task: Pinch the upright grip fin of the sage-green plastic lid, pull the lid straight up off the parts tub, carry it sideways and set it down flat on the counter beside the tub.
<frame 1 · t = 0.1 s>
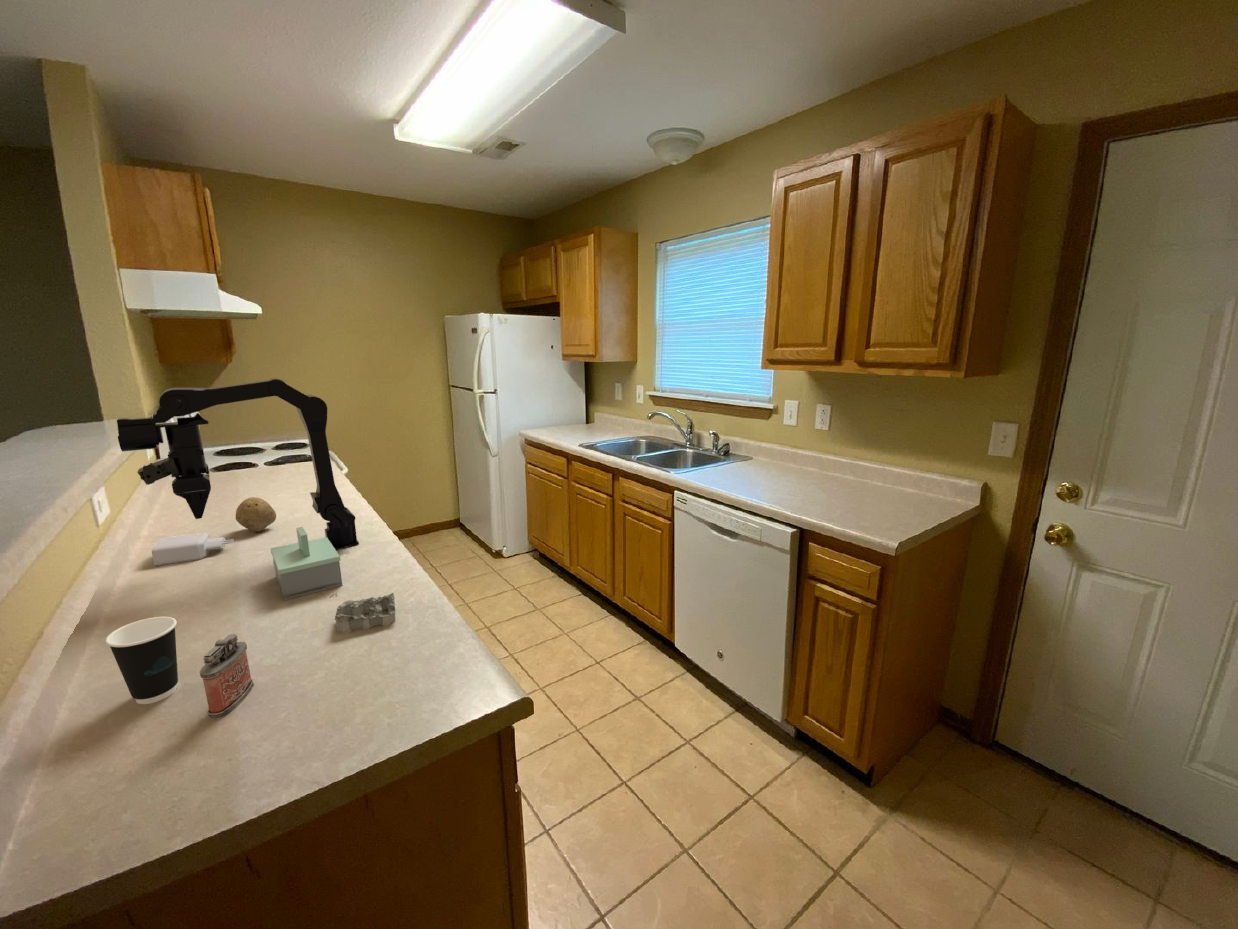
hand: (198, 513, 117), 15 cm above the worktop, fingers open, 9 cm apart
tub: (308, 581, 117), on the worktop
dixie cup: (156, 694, 80), on the worktop
brown potato: (257, 531, 147), on the worktop
egg carton: (367, 622, 101), on the worktop
lighter: (232, 701, 79), on the worktop
lid: (305, 560, 116), point 5 cm above the worktop, touching tub
charger: (198, 555, 131), on the worktop
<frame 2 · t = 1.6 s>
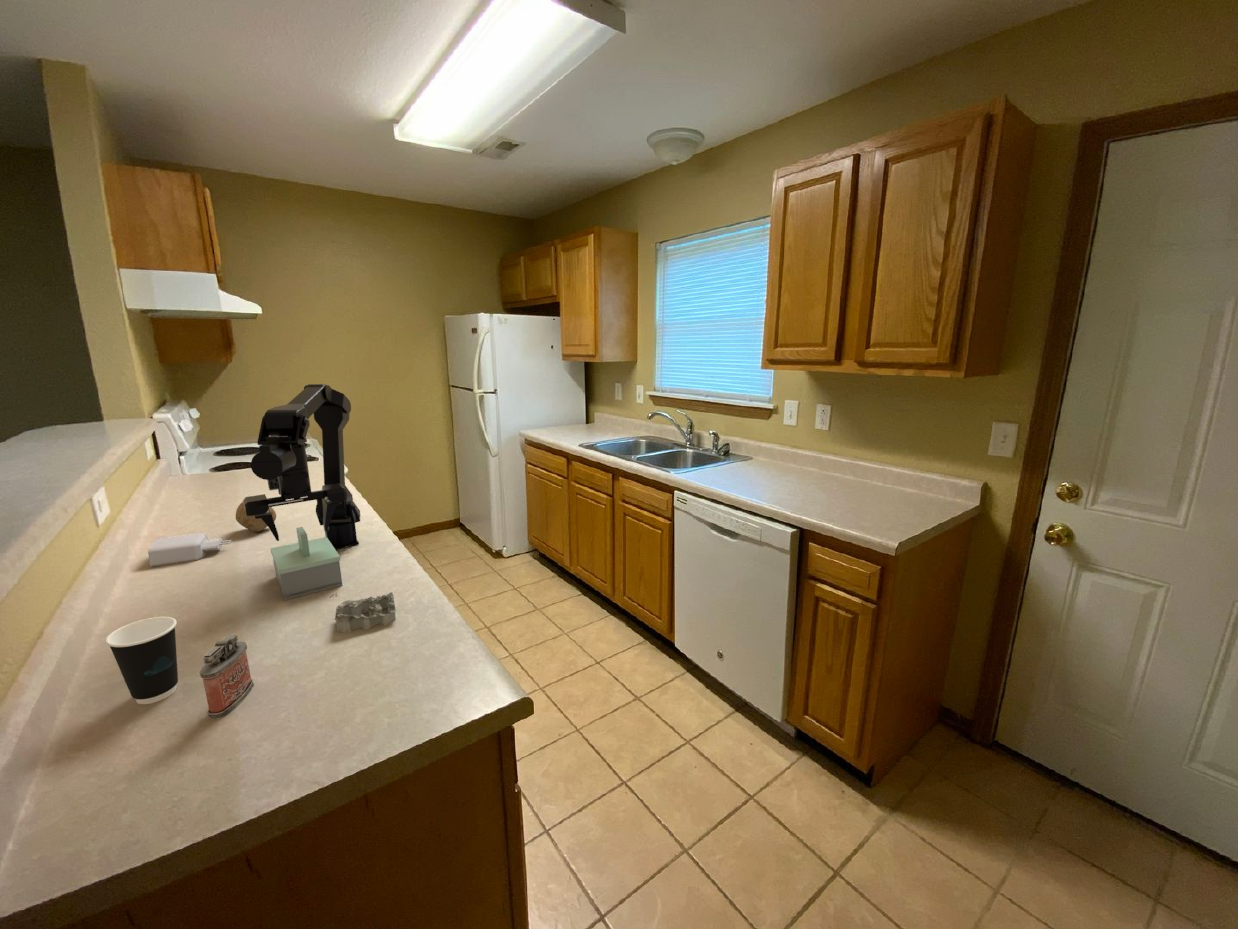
hand: (302, 535, 115), 11 cm above the worktop, fingers open, 9 cm apart
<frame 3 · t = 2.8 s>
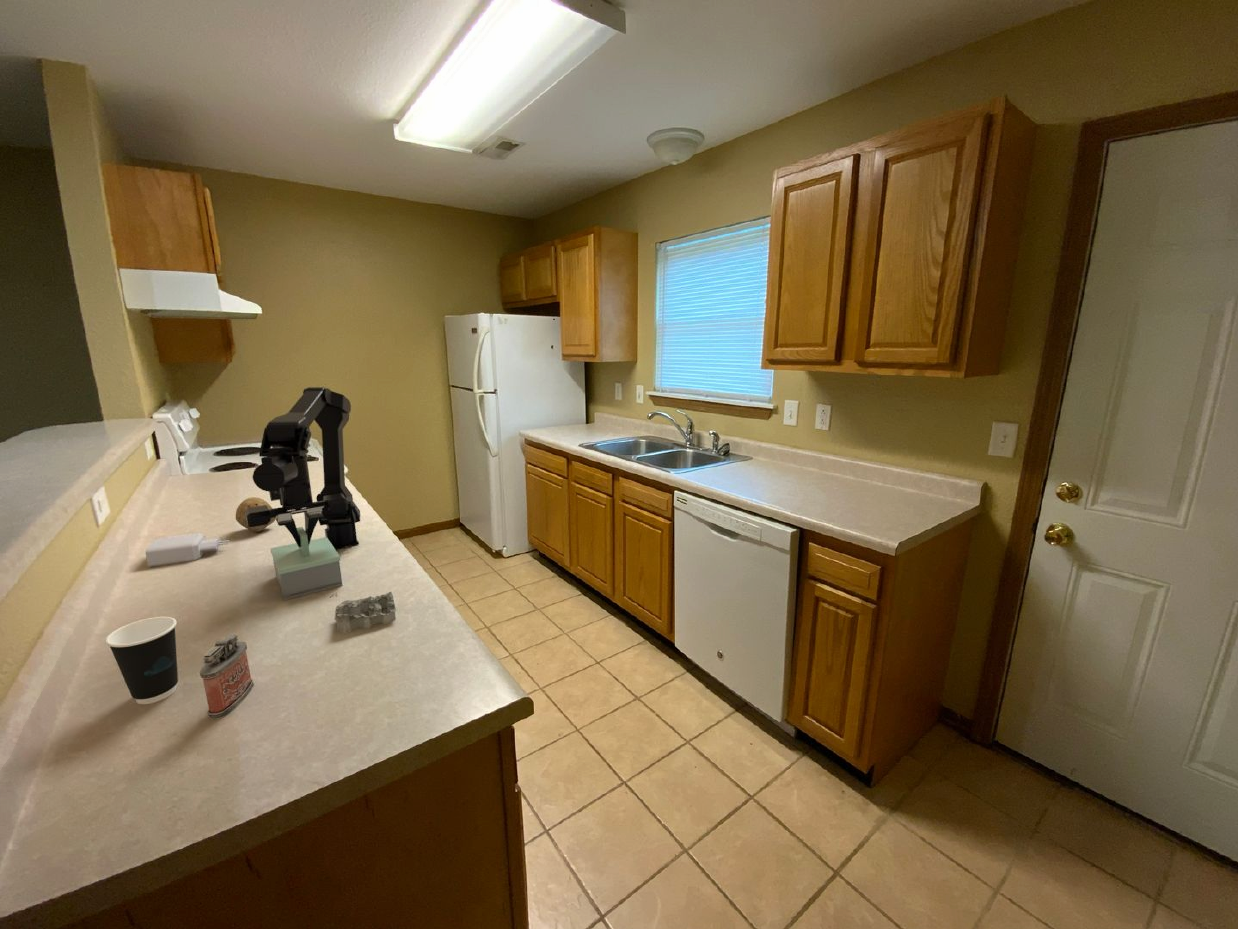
hand: (303, 545, 115), 9 cm above the worktop, fingers closed on lid
lid: (305, 560, 116), point 5 cm above the worktop, touching gripper, tub
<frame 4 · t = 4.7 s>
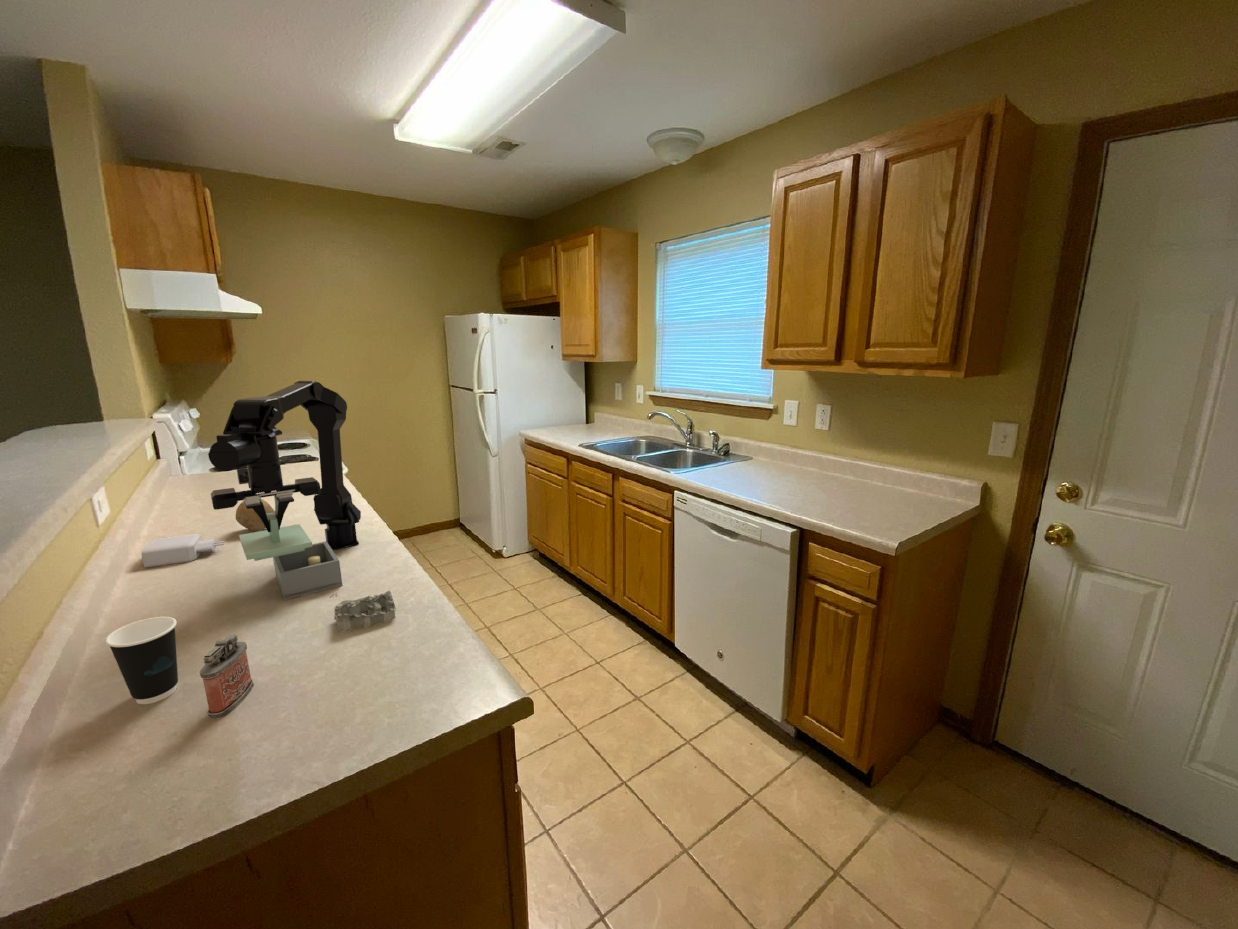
hand: (273, 531, 111), 13 cm above the worktop, fingers closed on lid
lid: (276, 547, 111), point 10 cm above the worktop, touching gripper
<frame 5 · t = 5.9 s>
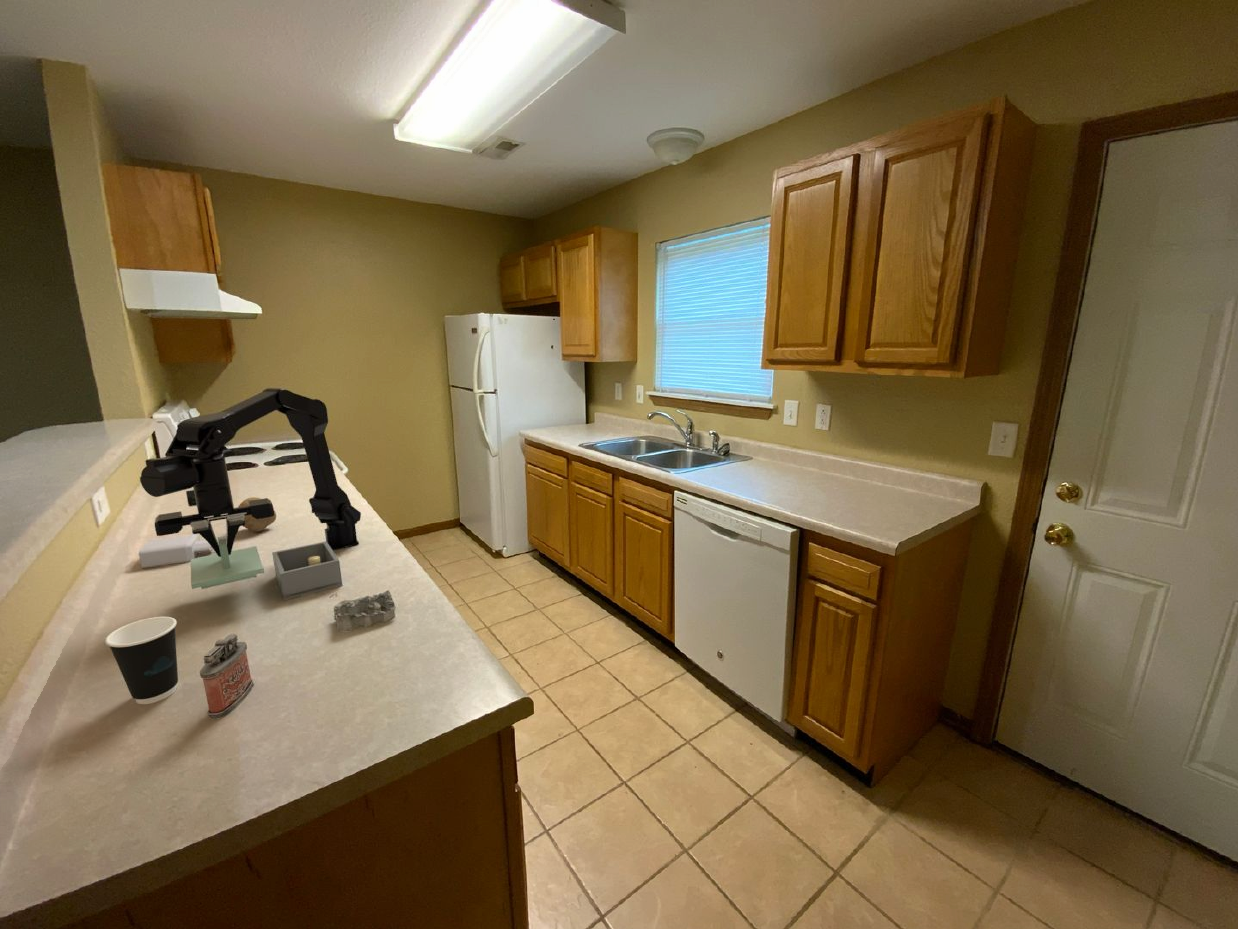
hand: (224, 555, 106), 10 cm above the worktop, fingers closed on lid
lid: (228, 572, 107), point 6 cm above the worktop, touching gripper
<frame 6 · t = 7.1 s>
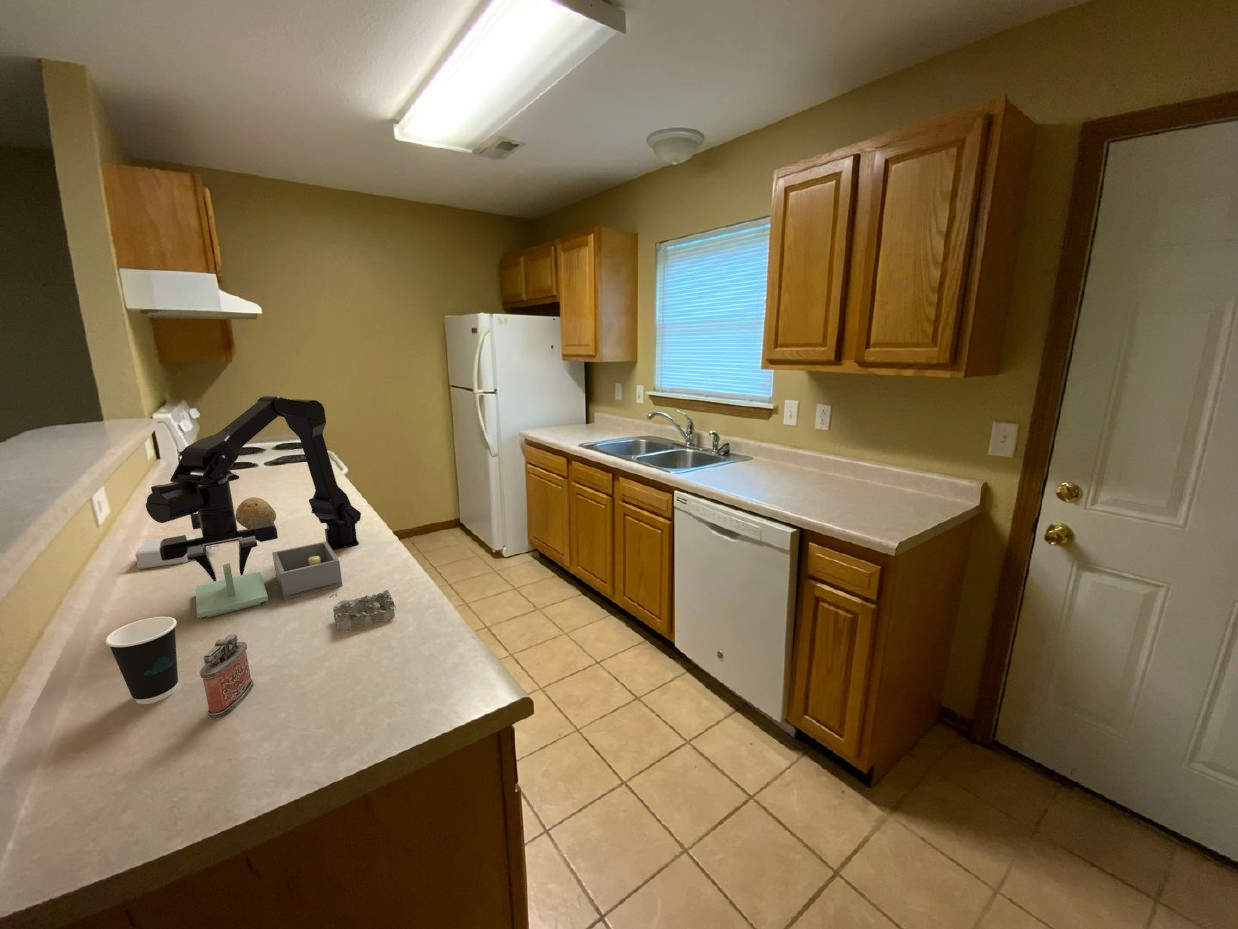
hand: (228, 577, 107), 5 cm above the worktop, fingers open, 4 cm apart
lid: (232, 599, 109), on the worktop
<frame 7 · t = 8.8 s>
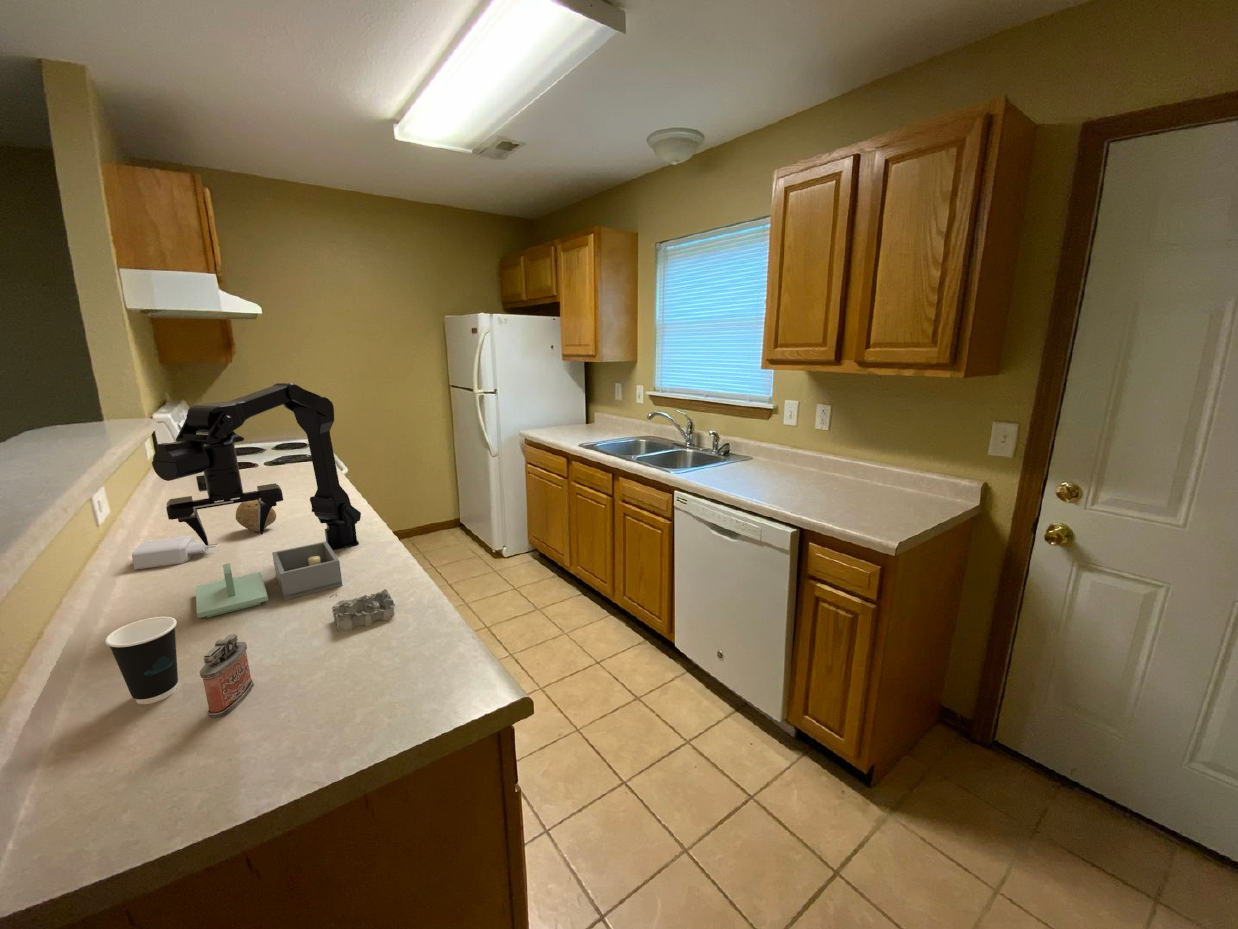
hand: (234, 539, 108), 13 cm above the worktop, fingers open, 9 cm apart
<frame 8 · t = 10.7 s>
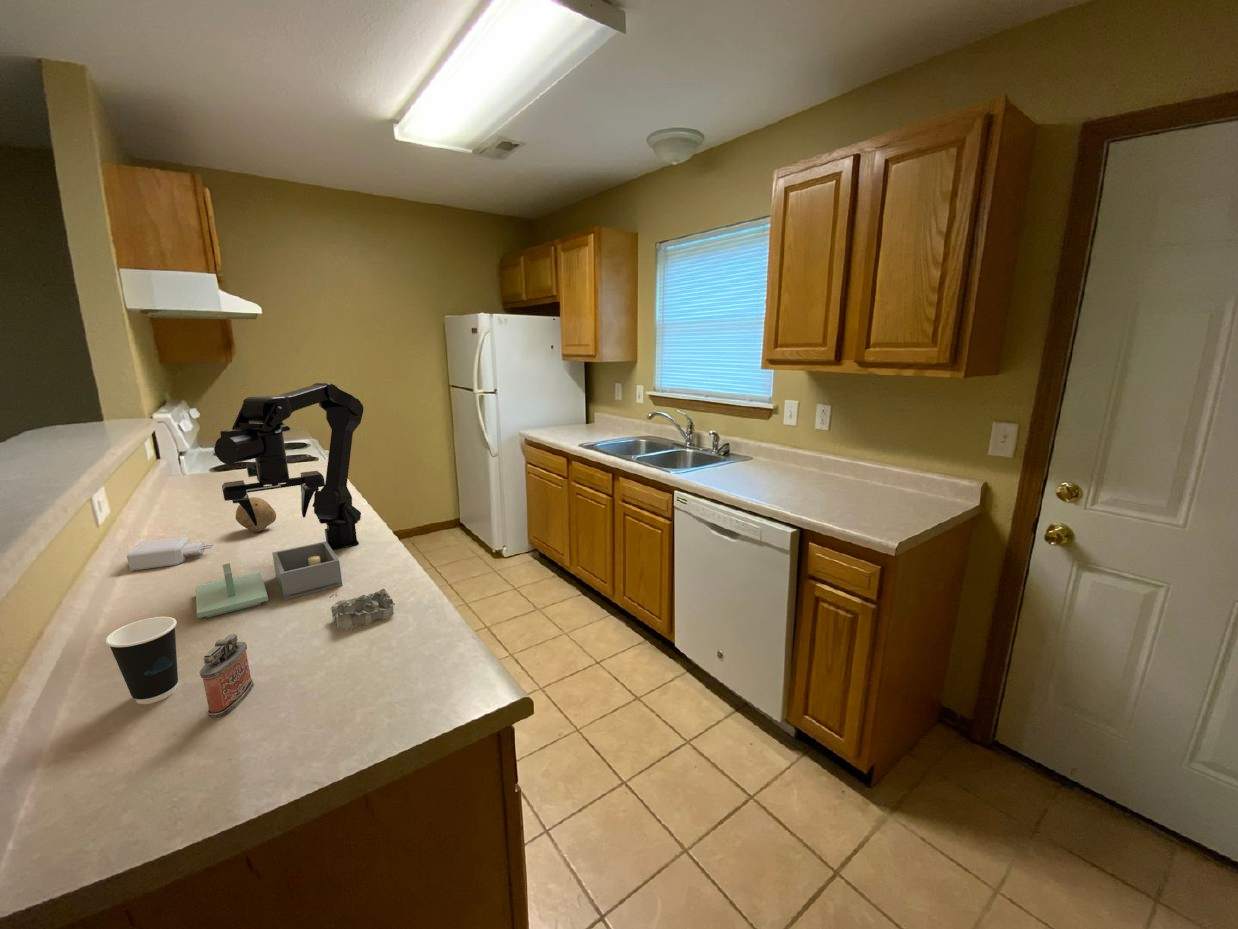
hand: (280, 521, 118), 13 cm above the worktop, fingers open, 9 cm apart
at the end: lid inside the target area (0.1 cm from its centre), on the worktop; lid touching worktop; the gripper is holding nothing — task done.
